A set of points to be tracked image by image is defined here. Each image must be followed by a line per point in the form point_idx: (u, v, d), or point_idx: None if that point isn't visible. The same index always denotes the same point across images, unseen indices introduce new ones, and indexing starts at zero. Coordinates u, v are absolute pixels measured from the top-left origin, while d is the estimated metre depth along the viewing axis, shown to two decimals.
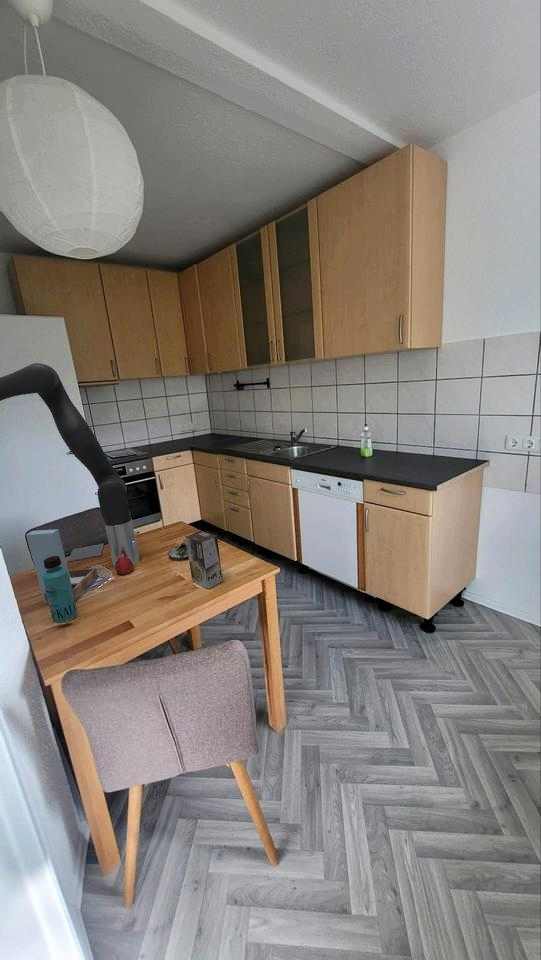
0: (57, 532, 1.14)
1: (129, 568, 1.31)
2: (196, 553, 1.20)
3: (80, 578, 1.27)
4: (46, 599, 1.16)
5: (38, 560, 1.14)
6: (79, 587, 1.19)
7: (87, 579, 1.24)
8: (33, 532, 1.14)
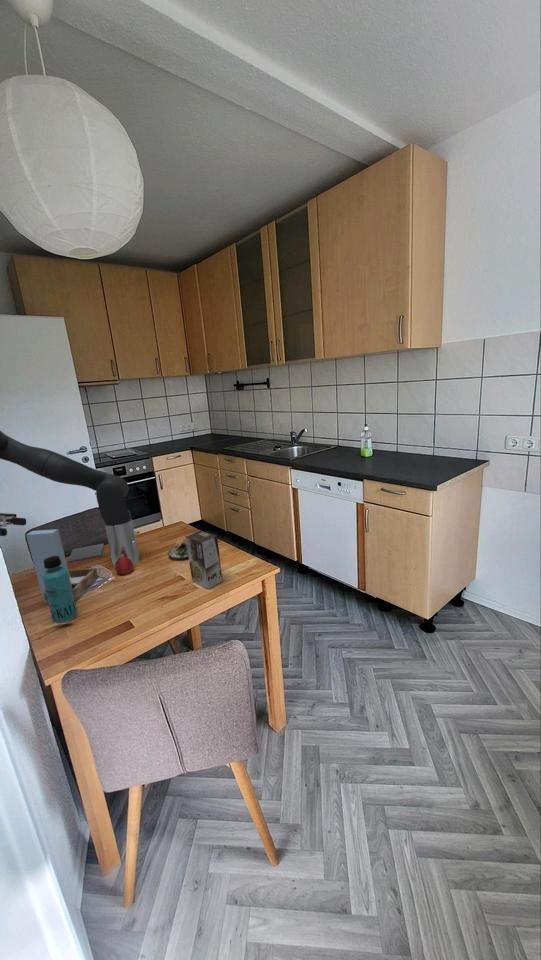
0: (57, 532, 1.14)
1: (129, 568, 1.31)
2: (196, 553, 1.20)
3: (80, 578, 1.27)
4: (46, 599, 1.16)
5: (38, 560, 1.14)
6: (79, 587, 1.19)
7: (87, 579, 1.24)
8: (33, 532, 1.14)
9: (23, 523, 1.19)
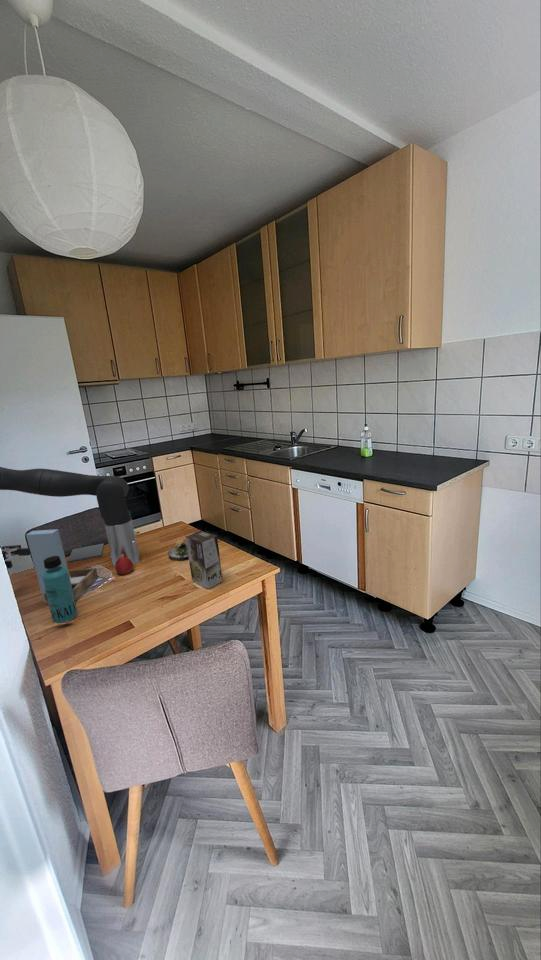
0: (57, 532, 1.14)
1: (129, 568, 1.31)
2: (196, 553, 1.20)
3: (80, 578, 1.27)
4: (46, 599, 1.16)
5: (38, 560, 1.14)
6: (79, 587, 1.19)
7: (87, 579, 1.24)
8: (33, 532, 1.14)
9: (28, 553, 1.20)
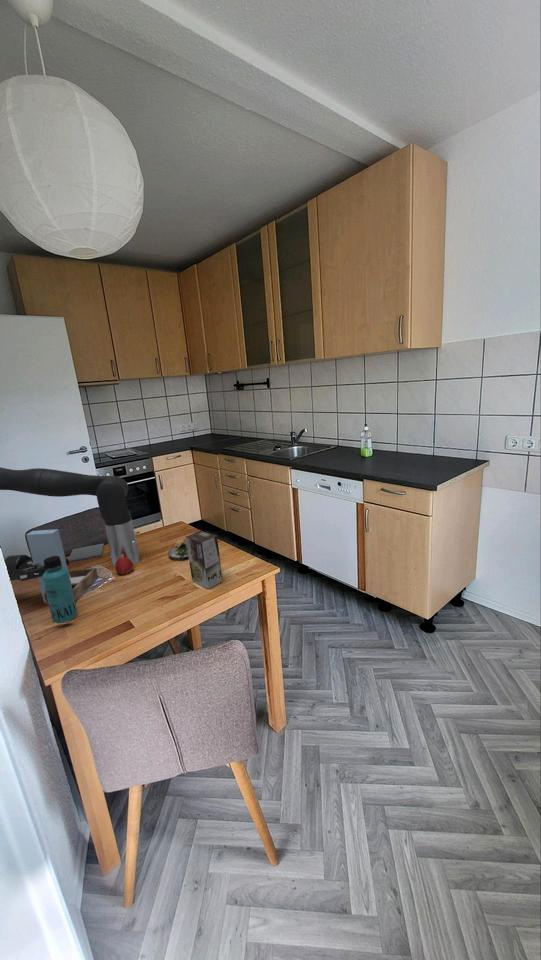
0: (57, 532, 1.14)
1: (129, 568, 1.31)
2: (196, 553, 1.20)
3: (80, 578, 1.27)
4: (46, 599, 1.16)
5: (38, 560, 1.14)
6: (79, 587, 1.19)
7: (87, 579, 1.24)
8: (33, 532, 1.13)
9: (66, 563, 1.17)
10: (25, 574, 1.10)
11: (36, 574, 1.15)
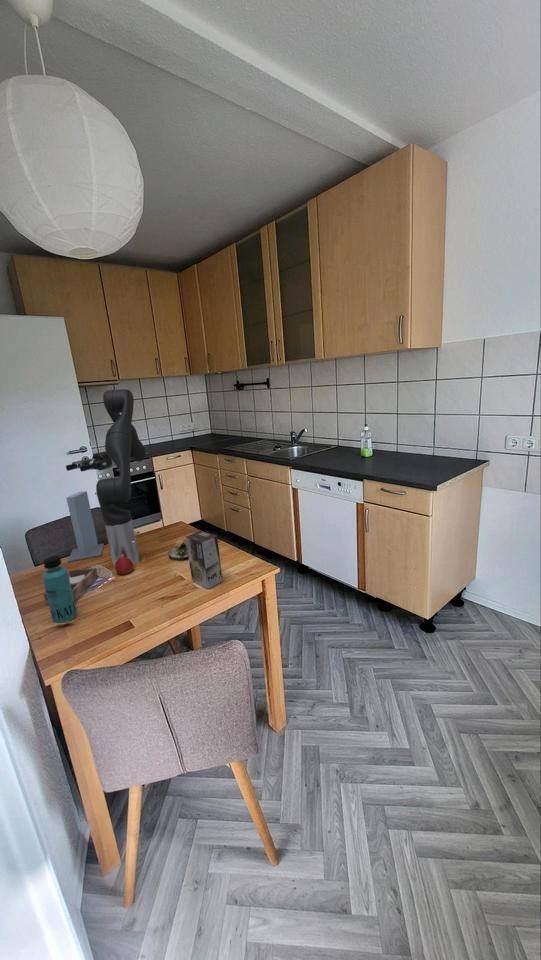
0: (71, 499, 1.46)
1: (129, 568, 1.31)
2: (196, 553, 1.20)
3: (80, 577, 1.28)
4: (46, 599, 1.16)
5: None
6: (79, 587, 1.19)
7: (87, 579, 1.24)
8: (81, 492, 1.53)
9: None
10: None
11: None
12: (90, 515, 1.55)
